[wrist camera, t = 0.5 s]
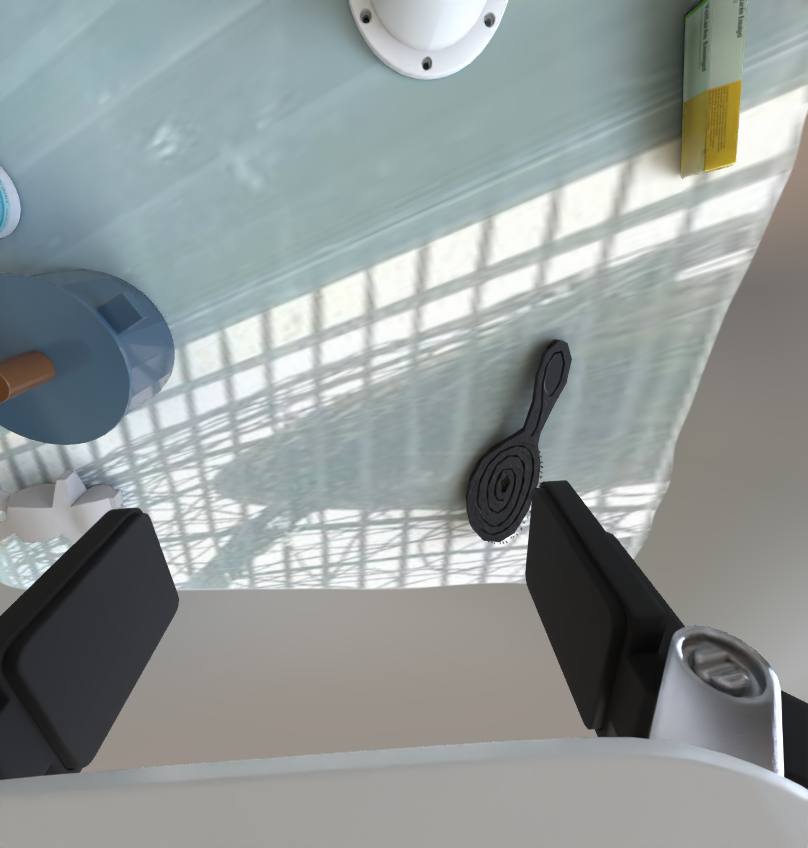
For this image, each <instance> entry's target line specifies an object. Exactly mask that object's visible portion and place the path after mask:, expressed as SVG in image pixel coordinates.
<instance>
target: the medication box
mask: <svg viewBox="0 0 808 848" xmlns="http://www.w3.org/2000/svg"><path fill="white" fill-rule="evenodd" d="M747 2H748V0H699V1H698V2H697V3H696V4H694V5H693V6H692V7H691V8H690V9H689V10H688V11H687V12H685V13H684V14H685V15H686V17H685V51H684V84H683V121H682V157H681V178H682V179H683V178H685V177H688V176H692V175H698V174H703V173H707V172H711V171H715V170H719V169H723V168H726V167H729V166H732V165H734V164H736V156H737V142H738V128H739V114H740V100H741V86H742V71H743V57H744V43H745V30H746V16H747Z"/></svg>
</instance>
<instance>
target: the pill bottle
mask: <svg viewBox="0 0 808 848" xmlns="http://www.w3.org/2000/svg"><path fill="white" fill-rule="evenodd" d="M20 214H21V206H20V200H19V196H18V193H17V190H16V188H15V186H14V184H13V182H12V180H11V179H10V177H9V176H8V175H7V173H6V172H5V171H4V170H3V168H2V167H1V166H0V239H1V238H4V237H6V236H7V235H9V234H10V233H12V232H13V231H14V229H15V228H16V226H17V225H18V222H19V220H20Z"/></svg>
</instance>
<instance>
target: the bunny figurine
mask: <svg viewBox="0 0 808 848" xmlns="http://www.w3.org/2000/svg"><path fill="white" fill-rule="evenodd" d="M122 503H123V498H122V495H121V491H120V490H114V489H112V488H111V487H110V486H108V485H105V484H101V485H96V486H93V487H91V488H89V489H87V488H86V487H85V485H84V484H83V482H82V481H81V479H80V478H79V476H78V475H77V473H76V472H75V471H71V470H67V471H66V472H65V473H64V474H63V475H61V476H60V477H59V478H58V479H57V480H56V484H38V485H33V486H30V487H28V488H25V489H22V490H20V491H17V492H15V493H12V494H10V493H8V492H5V491H2V490H0V511H6V512H7V515H6V521H3V522H0V541H1V540H5V539H7V538H9V537H11V536H13V535H15V534H16V535H17V536H18V537H19V538H20V539H21V541H22V542H30V543H34V542H42V541H47V540H51V539H54V538H56V537H58V536H60V535H63V536H65V537H66V538H68V539H69V540H70V541H72V542H73V543H74V544H75V543H76V542H77V541H78V540H79V539H80V538H81V537H82V536H83V535H84V534H85V533H86V532H87V531H88V530H89V529H90V528H91V527H92V526H93V525H94V524H95V523H96V522H97V521H98V520H99V519H100V518H101V517H102V516H103V515H104V514H105V513H106V512H108V511H109V510H112V509H125V506H123V505H121V504H122Z"/></svg>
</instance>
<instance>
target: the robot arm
mask: <svg viewBox="0 0 808 848" xmlns="http://www.w3.org/2000/svg"><path fill="white" fill-rule="evenodd" d="M348 1H349V6H350V8H351V11H352V14H353V17H354V20H355V23H356V25H357V27H358V29H359V31H360V33H361V35H362V37H363V39H364V41H365V42H366V43H367V45H368V46H369V47H370V49H371V50H372V51H373V53H374V54H375V55H376V56H377V57H378V58H379V59H380V60H381V61H382V62H383V63H385V64H386V65H387V66H388V67H390V68H392V69H393V70H395V71H396V72H398V73H400V74H402V75H405V76H408V77H411V78H414V79H426V80H431V79H437V78H444V77H446V76H449V75H451V74H454V73H456V72H458V71H460V70H461V69H463V68H464V67H465V66H467V65H468V64H470V63H471V62H472V61H473V60H474V59H475V58H476V57H477V56H478V55H479V54H480V53H481V52H482V51H483V49H484V48H485V47H486V45H487V44H488V42H489V41H490V39H491V38H492V36H493V35H494V33H495V31H496V29H497V27H498V25H499V23H500V21H501V18H502V16H503V13H504V10H505V8H506V5H507V2H508V0H348ZM364 18H368V19H369V23H366V24H365V23H364V22H363V19H364ZM485 21H488V22H489V23H490V27H487V26H486V25H485V24H484V22H485ZM424 64H428V66H429V69H428V70H424V68H423V65H424ZM525 575H526V582H527V586H528V589H529V591H530V594H531V596H532V599H533V601H534V603H535V606H536V608H537V611H538V613H539V616H540V618H541V621H542V623H543V626H544V628H545V630H546V633H547V635H548V637H549V640H550V643H551V645H552V647H553V650H554V652H555V655H556V657H557V660H558V662H559V664H560V667H561V669H562V672H563V674H564V677H565V679H566V681H567V684H568V686H569V689H570V691H571V694H572V696H573V698H574V701H575V703H576V705H577V708H578V711H579V713H580V715H581V718H582V720H583V722H584V724H585V726H586V727H587V728H588V729H595V731H596V733H597V736H598V737H578V738H557V739H540V740H539V739H537V740H518V741H497V742H483V743H468V744H455V745H440V746H425V747H411V748H396V749H383V750H367V751H353V752H341V753H326V754H313V755H300V756H286V757H273V758H260V759H247V760H234V761H221V762H209V763H208V762H207V763H194V764H181V765H169V766H157V767H144V768H133V769H120V770H108V771H96V772H83V773H80V771H81V770H82V768H83V767H86V766H87V765H89V764H90V762H91V761H92V760H93V758H94V757H95V755H96V753H97V752H98V750H99V748H100V747H101V745H102V743H103V741H104V739H105V737H106V736H107V734H108V732H109V730H110V729H111V727H112V725H113V723H114V722H115V720H116V718H117V716H118V714H119V712H120V711H121V709H122V707H123V705H124V704H125V702H126V700H127V698H128V697H129V695H130V693H131V691H132V690H133V688H134V686H135V684H136V682H137V680H138V679H139V677H140V675H141V674H142V672H143V670H144V668H145V667H146V665H147V663H148V661H149V659H150V657H151V656H152V654H153V652H154V650H155V649H156V647H157V645H158V643H159V642H160V640H161V638H162V636H163V634H164V632H165V631H166V629H167V627H168V626H169V624H170V622H171V620H172V619H173V617H174V615H175V613H176V611H177V608H178V603H179V597H178V594H177V591H176V588H175V585H174V582H173V580H172V577H171V574H170V571H169V569H168V566H167V563H166V560H165V558H164V555H163V552H162V549H161V547H160V544H159V541H158V538H157V535H156V533H155V530H154V527H153V524H152V522H151V519H150V517H149V515H147V514H145V513H143V512H142V511H141V510H140V509H139V508H125V509H112V510H109V511H108V512H106V513H105V514H104V515H103V516H102V517H101V518H100V519H99V520H98V521H97V522H96V523H95V524H94V525H93V526H92V527H91V528H90V529H89V530H88V531H87V532H86V533H85V534H84V535H83V536H82V537H81V538H80V539H79V540H78V541H77V542H76V543H75V544H74V545H73V546H72V547H71V548H70V549H68V550H67V551H66V552H65V553H64V554H63V555H62V556H61V557H60V558H59V559H58V560H57V561H56V562H55V563H54V564H53V565H52V566H51V567H50V568H49V569H48V570H47V571H46V572H45V573H44V574H43V575H42V576H41V577H40V578H39V579H38V580H37V581H36V582H35V583H34V584H33V585H32V586H31V587H30V588H29V589H28V590H26V591H25V592H24V593H23V595H21V596H20V597H19V598H18V599H17V601H15V602H14V603H13V604H12V605H11V606H10V607H9V608H8V609H7V610H6V611H5V612H4V613H3V614H2V615H1V616H0V848H808V703H806V702H804V701H802V700H800V699H798V698H796V697H794V696H791V695H790V694H787V693H785V692H783V691H781V690H780V686H779V682H778V678H777V676H776V674H775V672H774V671H773V669H772V668H771V666H770V665H769V663H768V662H767V661H766V660H765V659H764V658H763V657H762V656H761V655H760V654H759V653H758V652H757V651H756V650H754V649H753V648H752V647H750V646H749V645H747V644H746V643H744V642H743V641H742V640H740V639H738V638H736V637H734V636H732V635H730V634H728V633H726V632H723V631H720V630H717V629H714V628H711V627H705V626H696V625H695V626H688V627H685V626H684V625H683V623H682V622H681V621H680V620H679V618H678V617H677V616H676V614H675V613H674V612H673V610H672V609H671V608H670V607H669V605H668V604H667V603H666V601H665V600H664V599H663V598H662V596H661V595H660V594H659V593H658V591H657V590H656V589H655V587H654V586H653V585H652V583H651V582H650V581H649V580H648V578H647V577H646V576H645V575H644V573H643V572H642V571H641V569H640V568H639V567H638V566H637V564H636V563H635V562H634V560H633V559H632V558H631V556H630V555H629V554H628V553H627V551H626V550H625V549H624V547H623V546H622V545H621V544H620V542H619V541H618V540H617V538H616V537H615V536H614V535H613V534H611V533H608V532H606V531H605V530H604V529H603V527H602V526H601V525H600V523H599V522H598V521H597V519H596V518H595V517H594V515H593V514H592V513H591V511H590V510H589V509H588V507H587V506H586V505H585V504H584V502H583V501H582V500H581V498H580V497H579V496H578V494H577V493H576V492H575V490H574V489H573V488H572V486H571V485H570V484H569V483H568V482H567V481H565V480H563V481H547V482H542V483H541V485H540V488H535V489H534V490H533V496H532V507H531V517H530V528H529V539H528V550H527V561H526V573H525Z"/></svg>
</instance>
